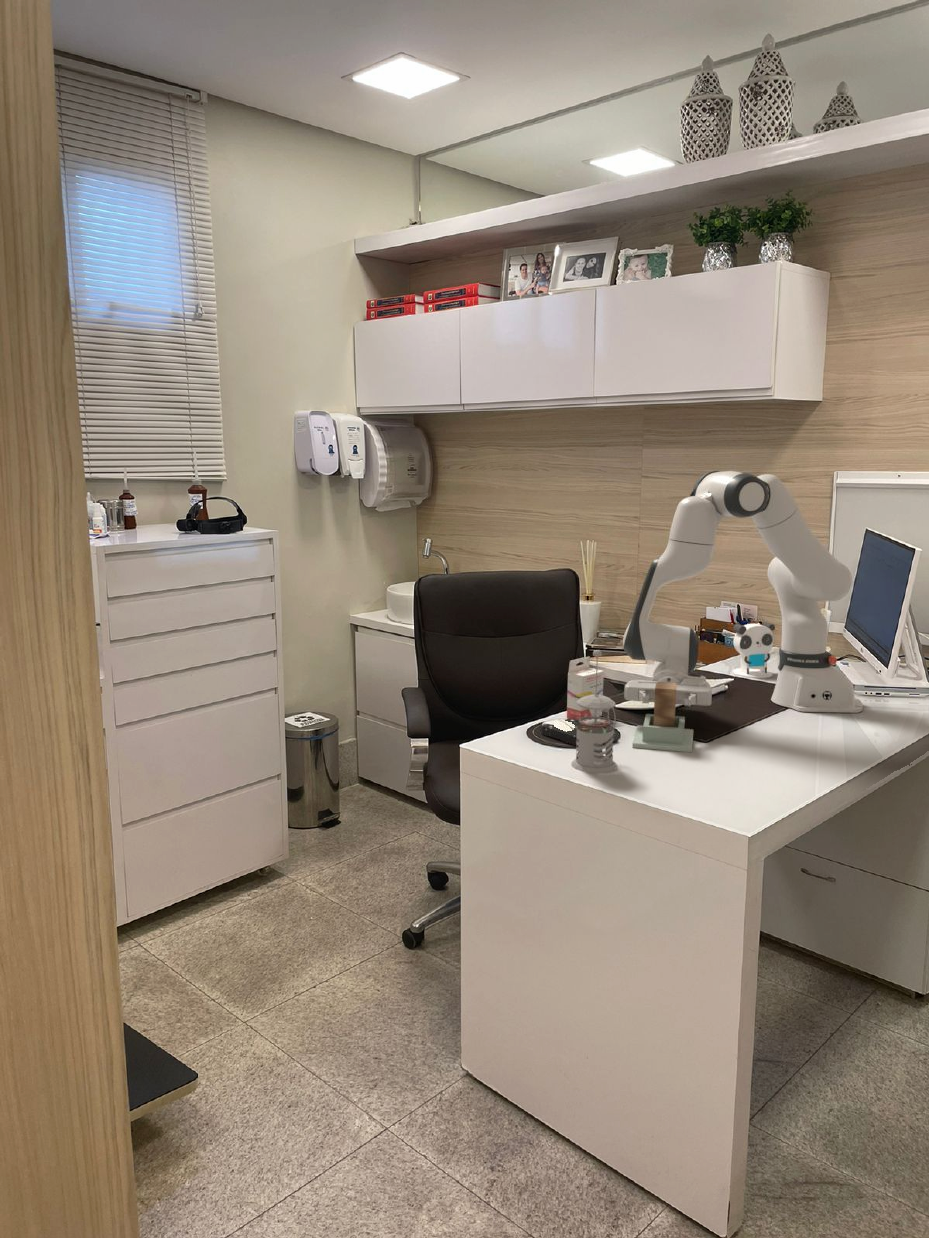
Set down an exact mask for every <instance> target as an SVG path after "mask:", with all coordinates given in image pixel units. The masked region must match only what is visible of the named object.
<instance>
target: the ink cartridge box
mask: <svg viewBox="0 0 929 1238" xmlns="http://www.w3.org/2000/svg"><path fill="white" fill-rule="evenodd" d="M579 663H582V664H580V665H579ZM590 663H591V656H584V657H581V658H576V659H572V660H569V664H568V665H569V666H568V673H567V694H566V695H567V696H566V697H567V699H566V702H567V703H566V704H567V705H566V718H567V719H570V718H573V719H577V720H579V719H580V718H582V717H588V716H589V717H590V716H595V710H591V709H585V708H582V707H580V706H579V705H578V704H577V701H578V700H579V699H580V698H582V697H585V696H588V695H593V694H596V668H591V667H590ZM604 672H605V671H604V670H602V669H597V694H598V695H603V696H604V675H605V673H604ZM602 715H603V711H602V710H596V717H597V716H598V717H602Z"/></svg>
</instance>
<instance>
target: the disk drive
mask: <svg viewBox="0 0 929 1238" xmlns="http://www.w3.org/2000/svg"><path fill="white" fill-rule="evenodd" d="M564 720H565V721H568V722H572V724H574V725H575V728H574V730H572V731H567V732H566V731H563V730H560V729H558V728H556V727H554V725H553V723H552V724H551V723H547V724H543V725H541V735H544V736H545V737H548V736H551V737H553V738H552V739H554V738H556V739H555V740H557V739H560V740H563V741H566V742H568V743H570V745H571V744H572V746H575V747H576V745H577V744H576V741H577V742H578V740H579V739H578V740H577V726H578V725H580V723H579V720H577V719H573V718H570V719H569V718H567V719H564ZM605 730H606V727H603V733H604V732H605ZM580 731H588V732H591V733H592V730H591V729H588V728H582V729H581V730H580ZM551 737H550V738H551ZM560 740H559V741H560ZM563 741H562V742H563ZM615 742H618V734H617V733H616V732H615V731H614V734H613V743H615ZM568 743H567V744H568ZM604 745H606V742H605V743H603V746H604ZM577 747H578V745H577Z"/></svg>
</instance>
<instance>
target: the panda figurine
mask: <svg viewBox="0 0 929 1238" xmlns="http://www.w3.org/2000/svg"><path fill="white" fill-rule="evenodd" d="M775 629H776V626H775V625H774V624H773V623H770V622H766V621H765V622H763V623H762V624H760V623H748V624H744V625H742V624H739V623H736V624H734V626H733V628H732V630H733V632H734V633H735V635H734V637H733V647H734V650H735V651H736V652H737V653H739V655H740V667H738V668H734V669H733V670H732V673H733V675H736V676H738V677H743V678H748V679H750V678H752V679H767V678H770V677H772V676H773V672H772V671H770V670H768V661H770V659H771V655H770V652H771V651H772V649H773V647H774V641H775V640H774V634H773V631H775Z"/></svg>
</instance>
